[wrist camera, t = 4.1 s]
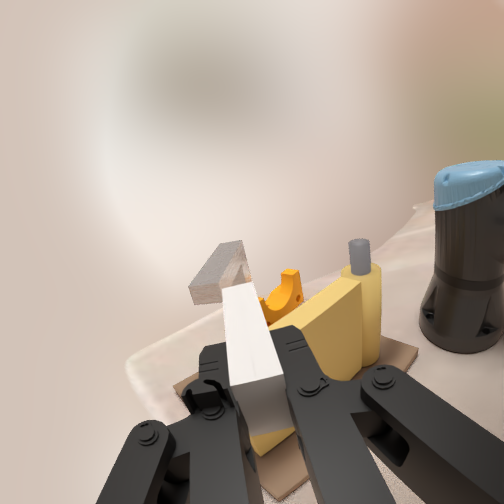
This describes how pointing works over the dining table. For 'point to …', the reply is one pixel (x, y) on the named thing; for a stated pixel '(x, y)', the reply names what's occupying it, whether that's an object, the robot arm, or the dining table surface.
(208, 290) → the hook
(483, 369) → the dining table surface
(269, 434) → the hinged door
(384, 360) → the board
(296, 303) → the pipe clamp
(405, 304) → the dining table surface
